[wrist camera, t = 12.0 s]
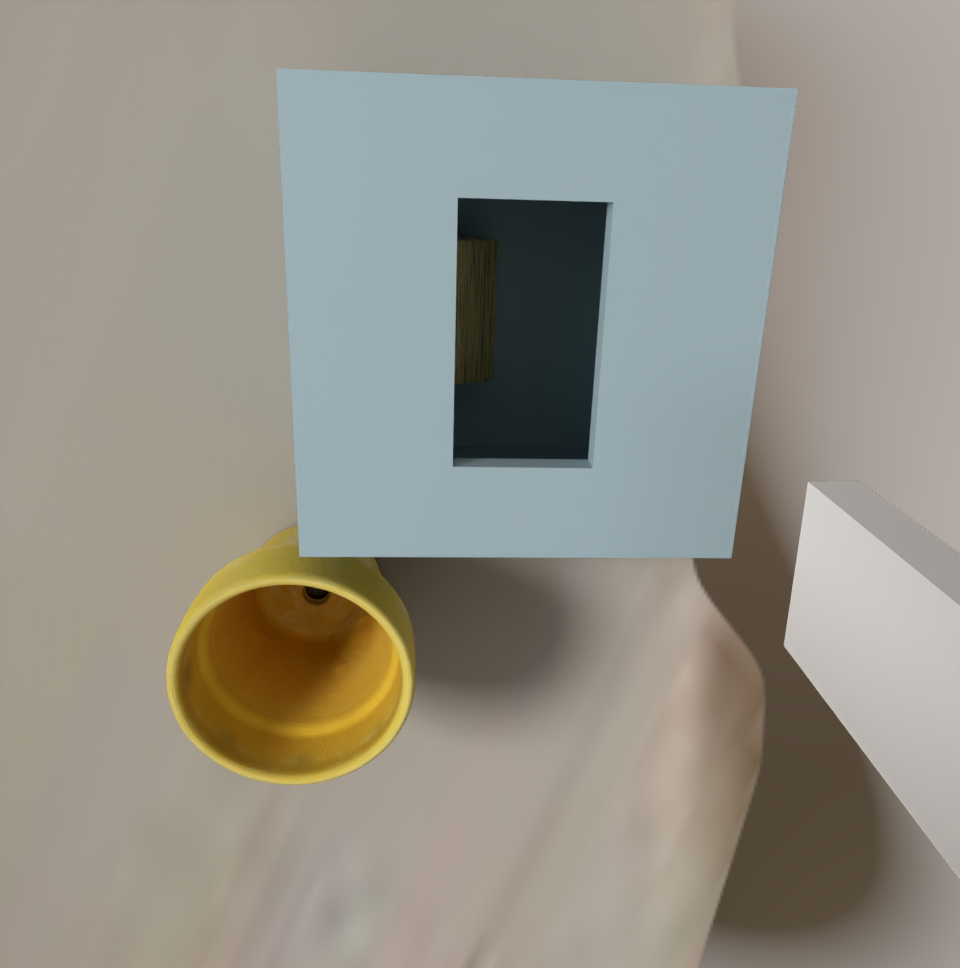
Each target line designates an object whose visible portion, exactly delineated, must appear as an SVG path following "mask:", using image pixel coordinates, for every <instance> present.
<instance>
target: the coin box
mask: <svg viewBox="0 0 960 968" xmlns="http://www.w3.org/2000/svg"><path fill="white" fill-rule="evenodd" d="M276 78H277V99H278V120H279V141H280V162H281V182H282V203H283V224H284V245H285V266H286V287H287V308H288V329H289V350H290V370H291V391H292V412H293V433H294V454H295V475H296V496H297V517H298V538H299V557H532V558H731V555H732V549H733V542H734V535H735V528H736V521H737V514H738V507H739V500H740V493H741V486H742V479H743V472H744V465H745V458H746V451H747V443H748V437H749V429H750V423H751V416H752V409H753V402H754V395H755V388H756V380H757V374H758V367H759V360H760V353H761V346H762V338H763V332H764V325H765V318H766V310H767V304H768V296H769V289H770V282H771V275H772V268H773V261H774V254H775V246H776V240H777V233H778V226H779V219H780V212H781V204H782V198H783V191H784V184H785V177H786V170H787V163H788V156H789V149H790V142H791V135H792V127H793V121H794V114H795V107H796V100H797V93H798V89H793V88H792V89H791V88H766V87H741V86H715V85H689V84H663V83H637V82H611V81H585V80H559V79H533V78H507V77H481V76H455V75H429V74H403V73H377V72H352V71H326V70H300V69H276ZM457 236H474V237H480V238H485V239H491V240H497V241H498V252H497V280H496V309H495V338H494V367H493V381H488V382H475V383H461V384H454V372H455V320H456V267H457Z"/></svg>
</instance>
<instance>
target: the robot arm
mask: <svg viewBox="0 0 960 968" xmlns="http://www.w3.org/2000/svg"><path fill="white" fill-rule="evenodd" d="M784 646H785V648H786V649H787V650H788V652H789V653H790V654H791V656H792V657H793V658H794V660H795V661H796V662H797V664H798V665H799V666H800V668H801V669H802V670H803V672H804V673H805V674H806V676H807V677H808V678H809V680H810V681H811V682H812V684H813V685H814V686H815V688H816V689H817V690H818V692H819V693H820V694H821V696H822V697H823V698H824V700H825V701H826V702H827V703H828V705H829V706H830V708H831V709H832V710H833V712H834V713H835V714H836V716H837V717H838V718H839V720H840V721H841V722H842V724H843V725H844V726H845V728H846V729H847V730H848V732H849V733H850V734H851V735H852V737H853V738H854V740H855V741H856V742H857V744H858V745H859V746H860V748H861V749H862V750H863V752H864V753H865V754H866V755H867V757H868V758H869V760H870V761H871V762H872V764H873V765H874V766H875V768H876V769H877V770H878V771H879V773H880V774H881V776H882V777H883V778H884V780H885V781H886V782H887V783H888V785H889V786H890V788H891V789H892V790H893V791H894V793H895V794H896V796H897V797H898V798H899V799H900V801H901V802H902V803H903V805H904V806H905V807H906V809H907V810H908V811H909V813H910V814H911V815H912V817H913V818H914V819H915V821H916V822H917V824H918V825H919V826H920V827H921V829H922V830H923V831H924V833H925V834H926V835H927V837H928V838H929V839H930V841H931V842H932V843H933V845H934V846H935V847H936V849H937V850H938V851H939V852H940V854H941V855H942V856H943V858H944V859H945V861H946V862H947V863H948V865H949V866H950V867H951V869H952V870H953V871H954V873H955V874H956V875H957V877H958V878H959V879H960V553H959V552H957V551H956V550H955V549H953V548H952V547H951V546H949V545H948V544H946V543H945V542H944V541H942V540H941V539H939V538H938V537H937V536H935V535H934V534H932V533H931V532H930V531H928V530H927V529H926V528H924V527H923V526H921V525H920V524H919V523H917V522H916V521H914V520H913V519H912V518H910V517H909V516H907V515H906V514H905V513H903V512H902V511H901V510H899V509H898V508H896V507H895V506H894V505H892V504H891V503H889V502H888V501H886V500H885V499H884V498H882V497H881V496H880V495H878V494H877V493H876V492H874V491H873V490H871V489H870V488H869V487H867V486H866V485H864V484H863V483H862V482H860V481H815V482H814V481H813V482H808V485H807V492H806V499H805V505H804V512H803V519H802V526H801V533H800V539H799V546H798V553H797V561H796V567H795V573H794V580H793V587H792V594H791V601H790V608H789V614H788V621H787V628H786V635H785V642H784Z"/></svg>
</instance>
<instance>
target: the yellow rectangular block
mask: <svg viewBox="0 0 960 968" xmlns="http://www.w3.org/2000/svg"><path fill="white" fill-rule="evenodd" d="M497 252H498V241H497V240H491V239H485V238H480V237H474V236H457V267H456V320H455V372H454V384H461V383H475V382H488V381H493V367H494V338H495V309H496V280H497Z"/></svg>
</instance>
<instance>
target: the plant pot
mask: <svg viewBox="0 0 960 968" xmlns="http://www.w3.org/2000/svg"><path fill="white" fill-rule="evenodd" d="M306 586H309V587H314V588H319V589H323V590H326V591H329V593H328V594H327V596H326V597H324V598H322V599H313V598H311V597H310V596H308V595H307V593H306V590H305V587H306ZM415 671H416V657H415V644H414V635H413V628H412V625H411V621H410V618H409V615H408V612H407V610H406V608H405V606H404V604H403V602H402V600H401V598H400V597H399V595H398V594H397V593H396V591H395V590H394V588H393V587H392V586H391V585H390V584H389V583H388V582H387V581H386V580H385V579H384V577H382V575H381V572H380V570H379V567H378V565H377V562H376V560H375V558H374V557H299V538H298V526H294V527H291V528H288V529H286V530H284V531H282V532H280V533H278V534H277V535H275V536H274V537H272V538H271V539H270V540H269V541H268V542H267V543H266V544H264V545H263V546H262V547H261V548H260V549H259V550H256V551H253V552H251V553H248V554H246V555H244V556H242V557H240V558H238V559H236V560H234V561H232V562H231V563H229V564H228V565H226V566H225V567H224V568H222V569H221V570H220V571H219V572H217V573H216V574H215V575H214V576H213V577H212V578H211V579H210V580H209V581H208V582H207V583H206V585H205V586H204V587H203V588H202V590H201V591H200V593H199V594H198V595H197V597H196V598H195V600H194V601H193V603H192V605H191V606H190V608H189V610H188V611H187V613H186V615H185V617H184V619H183V621H182V623H181V625H180V627H179V629H178V631H177V633H176V635H175V638H174V640H173V643H172V646H171V649H170V652H169V657H168V661H167V671H166V683H167V691H168V697H169V700H170V704H171V707H172V709H173V712H174V715H175V717H176V719H177V721H178V723H179V725H180V726H181V728H182V730H183V731H184V733H185V734H186V735H187V736H188V738H189V739H190V740H191V741H192V743H193V744H194V745H195V746H196V747H197V748H199V749H200V750H201V751H202V752H203V753H204V754H206V755H207V756H208V757H209V758H211V759H212V760H214V761H215V762H216V763H218V764H220V765H222V766H224V767H225V768H227V769H229V770H231V771H233V772H235V773H238V774H240V775H242V776H245V777H248V778H251V779H255V780H258V781H262V782H268V783H274V784H285V785H303V784H313V783H319V782H324V781H328V780H331V779H335V778H338V777H341V776H344V775H346V774H348V773H351V772H353V771H355V770H357V769H359V768H360V767H362V766H364V765H366V764H367V763H369V762H370V761H371V760H373V759H374V758H375V757H377V756H378V755H379V754H380V753H382V752H383V751H384V750H385V749H386V748H387V747H388V746H389V744H390V743H391V742H392V741H393V740H394V738H395V737H396V736H397V734H398V733H399V731H400V730H401V728H402V726H403V725H404V723H405V721H406V719H407V716H408V714H409V711H410V708H411V705H412V701H413V697H414V690H415Z"/></svg>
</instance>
